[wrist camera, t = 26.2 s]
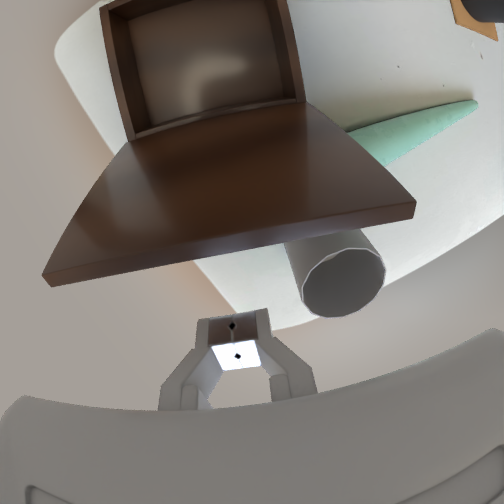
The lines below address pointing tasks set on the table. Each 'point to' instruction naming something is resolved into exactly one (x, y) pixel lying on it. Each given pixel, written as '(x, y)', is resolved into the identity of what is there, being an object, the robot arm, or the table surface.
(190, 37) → the chest
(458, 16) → the cork mat
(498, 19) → the dark grey cylinder
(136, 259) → the chest lid
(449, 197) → the table surface
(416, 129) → the mint green cone
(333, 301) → the cup
